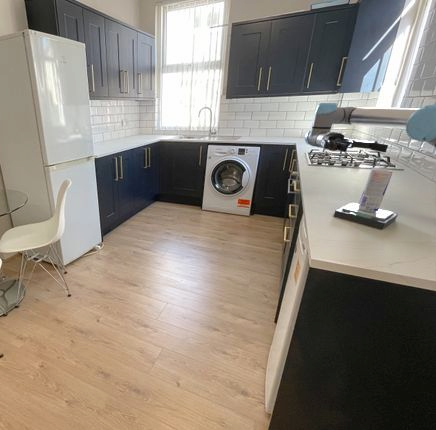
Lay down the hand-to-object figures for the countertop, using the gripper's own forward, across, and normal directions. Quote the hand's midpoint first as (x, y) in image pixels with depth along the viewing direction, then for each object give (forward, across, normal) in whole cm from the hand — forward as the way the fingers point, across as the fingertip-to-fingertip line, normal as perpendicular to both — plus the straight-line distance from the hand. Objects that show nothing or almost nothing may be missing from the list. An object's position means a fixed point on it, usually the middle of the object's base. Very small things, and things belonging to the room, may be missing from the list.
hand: (366, 148), depth 103 cm
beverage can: (+11, 0, -21) cm, 23 cm away
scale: (+12, +1, -24) cm, 26 cm away
